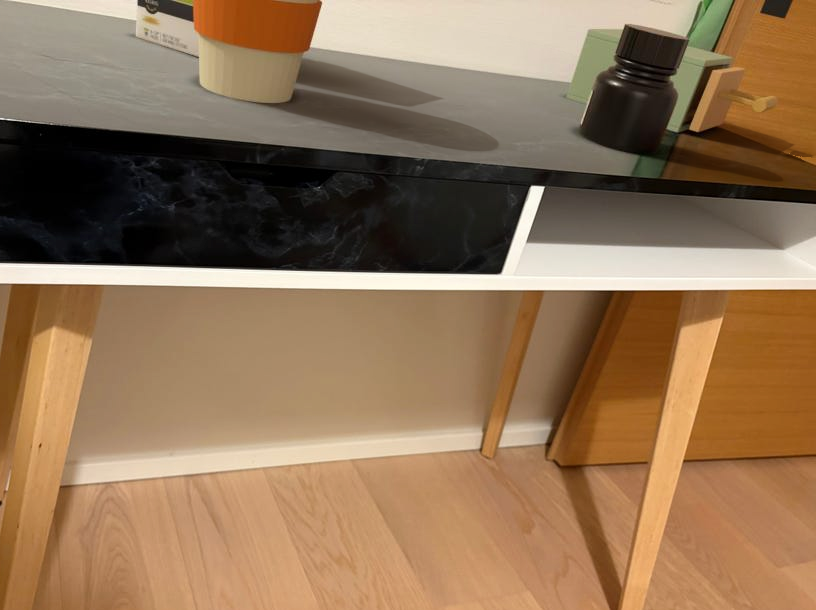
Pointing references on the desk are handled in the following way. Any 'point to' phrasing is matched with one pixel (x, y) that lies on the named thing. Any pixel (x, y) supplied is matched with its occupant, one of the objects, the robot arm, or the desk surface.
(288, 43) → the reusable coffee cup
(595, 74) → the cabinet
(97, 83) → the desk surface
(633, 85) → the ink bottle
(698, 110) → the drawer
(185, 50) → the tea box
